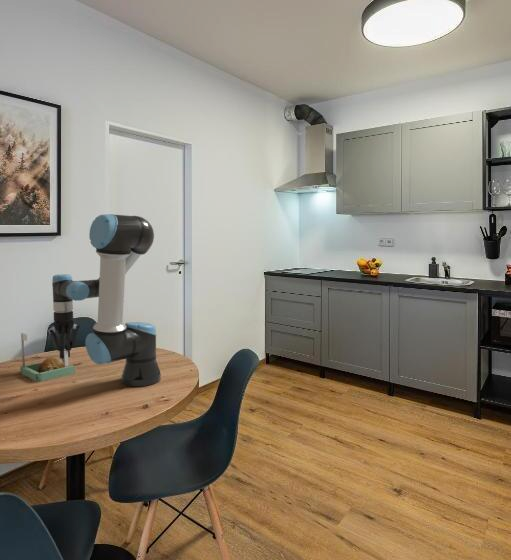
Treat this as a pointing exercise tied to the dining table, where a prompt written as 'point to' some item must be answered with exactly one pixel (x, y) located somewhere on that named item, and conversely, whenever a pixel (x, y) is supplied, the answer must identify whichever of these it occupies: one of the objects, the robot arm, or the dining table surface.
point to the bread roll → (51, 364)
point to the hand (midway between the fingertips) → (65, 365)
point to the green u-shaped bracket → (32, 368)
